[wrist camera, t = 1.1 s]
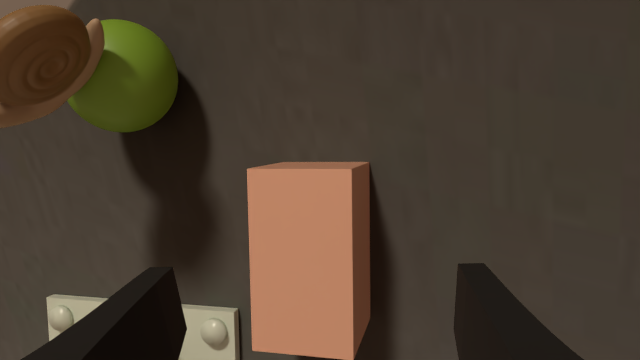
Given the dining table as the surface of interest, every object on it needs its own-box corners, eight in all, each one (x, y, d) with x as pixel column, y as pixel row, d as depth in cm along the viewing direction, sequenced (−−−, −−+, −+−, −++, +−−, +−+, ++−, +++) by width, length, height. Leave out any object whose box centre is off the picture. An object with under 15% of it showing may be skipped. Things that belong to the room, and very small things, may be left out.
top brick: (370, 317, 25) (353, 360, 21) (287, 310, 26) (252, 350, 22) (369, 161, 25) (351, 169, 20) (284, 161, 26) (246, 168, 21)
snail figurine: (83, 102, 28) (-169, 80, 17) (146, 11, 27) (-83, -83, 15) (148, 166, 28) (-67, 189, 16) (216, 76, 26) (34, 30, 14)
